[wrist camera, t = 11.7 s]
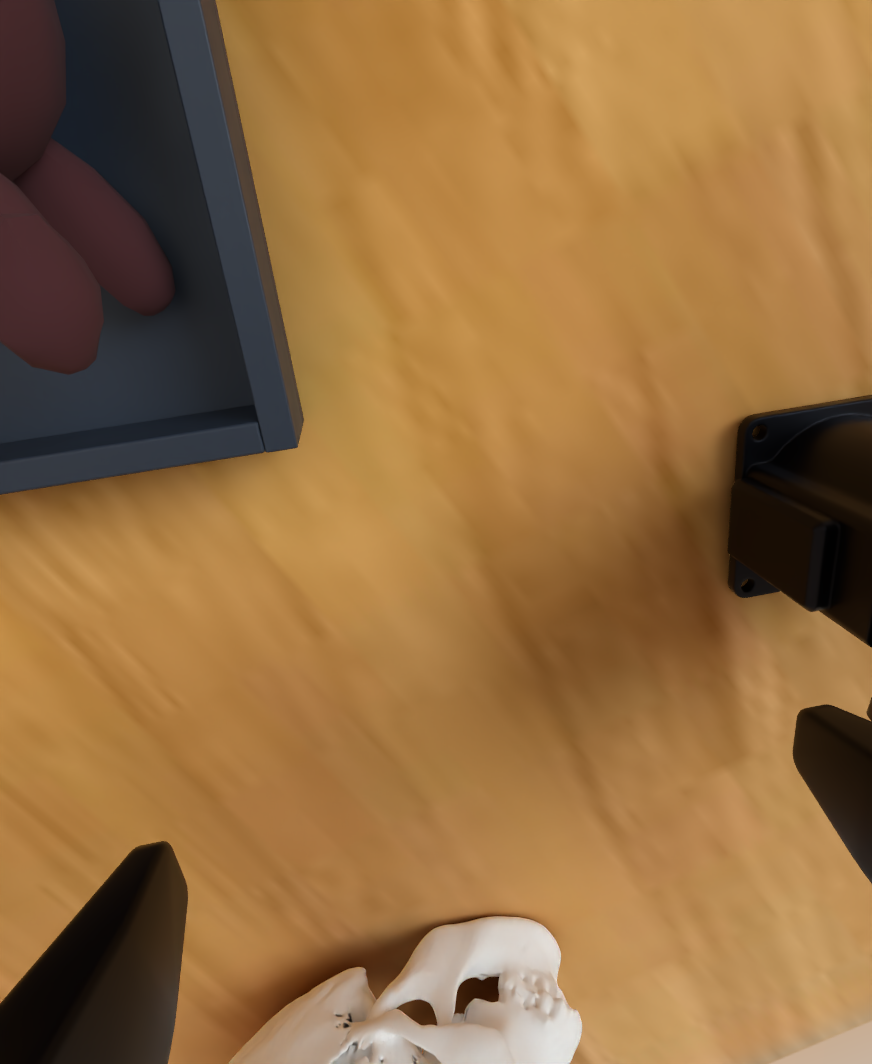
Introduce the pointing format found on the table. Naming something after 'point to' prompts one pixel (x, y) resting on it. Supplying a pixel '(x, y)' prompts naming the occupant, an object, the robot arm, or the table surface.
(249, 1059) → the skull bowl
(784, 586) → the robot arm
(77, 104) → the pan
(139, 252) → the icecream
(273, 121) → the table surface
